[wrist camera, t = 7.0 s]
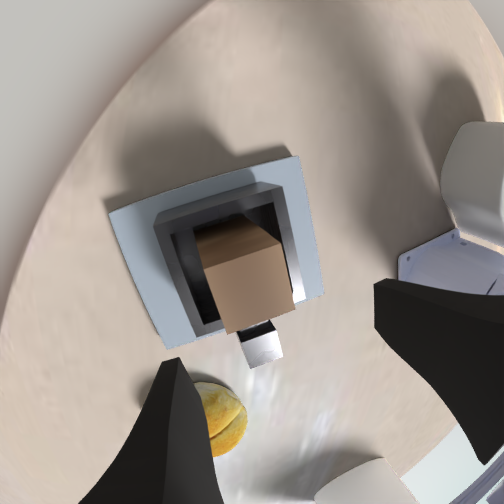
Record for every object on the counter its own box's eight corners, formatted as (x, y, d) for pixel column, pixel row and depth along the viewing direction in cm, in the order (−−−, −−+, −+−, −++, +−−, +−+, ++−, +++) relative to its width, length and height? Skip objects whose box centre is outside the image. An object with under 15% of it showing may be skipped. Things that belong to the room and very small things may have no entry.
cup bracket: (258, 180, 17) (286, 187, 13) (288, 308, 20) (316, 342, 16) (158, 212, 16) (151, 228, 12) (205, 337, 19) (215, 380, 15)
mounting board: (292, 155, 18) (298, 155, 17) (318, 288, 21) (324, 293, 21) (111, 211, 16) (108, 213, 15) (166, 341, 20) (166, 349, 19)
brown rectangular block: (243, 214, 16) (281, 243, 11) (256, 262, 17) (295, 309, 12) (193, 231, 16) (203, 269, 10) (209, 278, 17) (227, 334, 11)
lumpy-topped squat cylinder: (431, 180, 22) (509, 197, 14) (471, 99, 21) (533, 99, 13) (465, 243, 26) (524, 268, 18) (500, 164, 25) (552, 175, 17)
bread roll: (179, 445, 24) (183, 476, 20) (137, 393, 21) (135, 428, 17) (254, 424, 25) (265, 454, 21) (227, 367, 22) (238, 401, 18)
